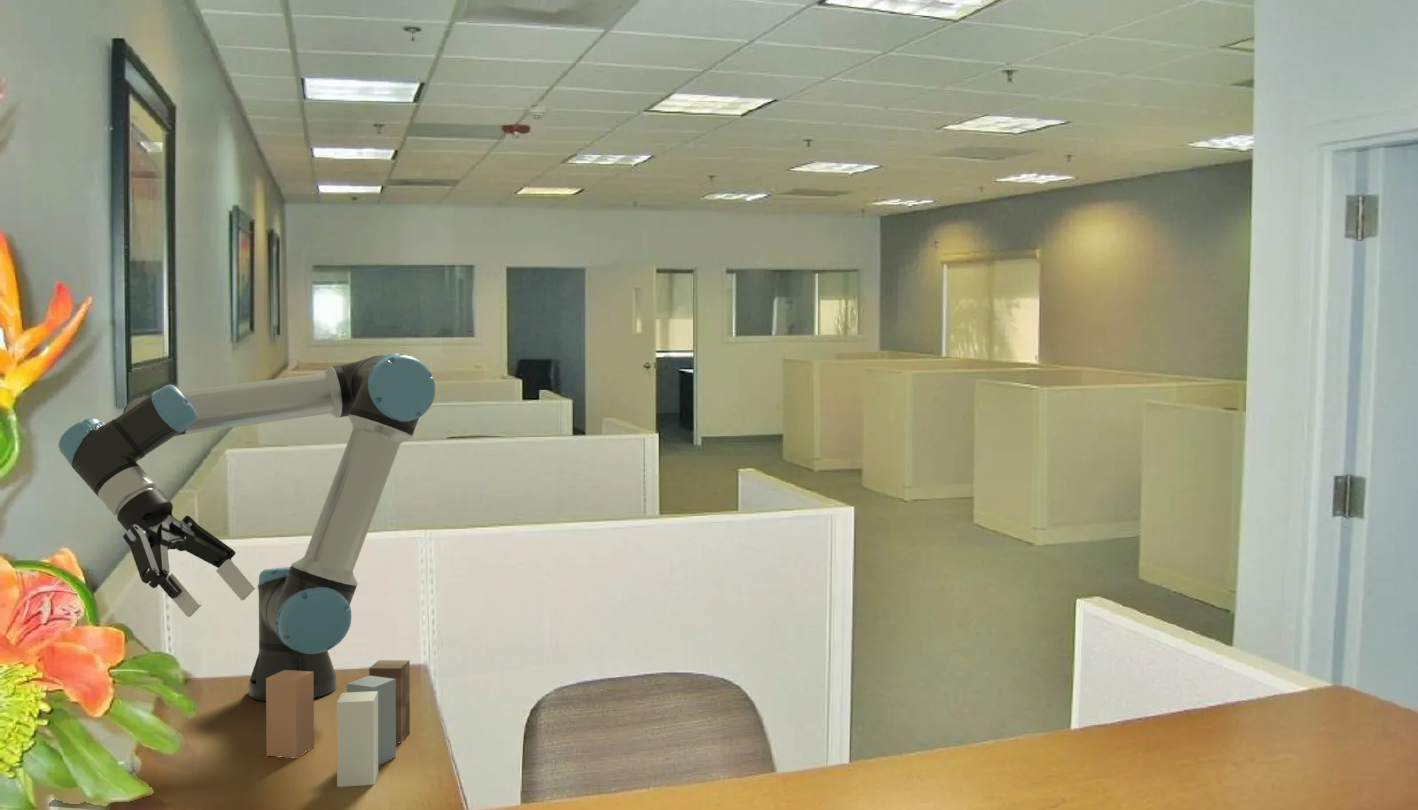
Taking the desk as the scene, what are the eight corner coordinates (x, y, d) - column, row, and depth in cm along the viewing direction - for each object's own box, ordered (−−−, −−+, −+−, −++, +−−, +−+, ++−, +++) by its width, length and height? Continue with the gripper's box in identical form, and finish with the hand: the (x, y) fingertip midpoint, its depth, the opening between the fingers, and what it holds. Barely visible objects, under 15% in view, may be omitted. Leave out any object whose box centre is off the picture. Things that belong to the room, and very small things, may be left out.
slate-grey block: (369, 753, 173) (369, 675, 172) (395, 757, 171) (395, 678, 170) (347, 763, 168) (346, 683, 168) (374, 767, 166) (374, 687, 166)
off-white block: (342, 774, 163) (342, 692, 163) (378, 772, 164) (377, 691, 164) (337, 786, 158) (336, 702, 158) (373, 784, 159) (373, 700, 159)
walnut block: (379, 733, 182) (378, 660, 182) (409, 733, 182) (409, 660, 182) (369, 743, 177) (369, 668, 177) (401, 743, 177) (400, 668, 177)
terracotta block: (284, 746, 176) (284, 669, 175) (313, 747, 175) (313, 671, 175) (266, 756, 171) (265, 678, 171) (296, 758, 170) (296, 679, 170)
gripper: (173, 510, 189) (253, 603, 187) (63, 528, 165) (153, 635, 162) (202, 480, 188) (283, 573, 186) (95, 493, 164) (187, 600, 161)
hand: (223, 602), depth 174 cm, fingers open, 13 cm apart
